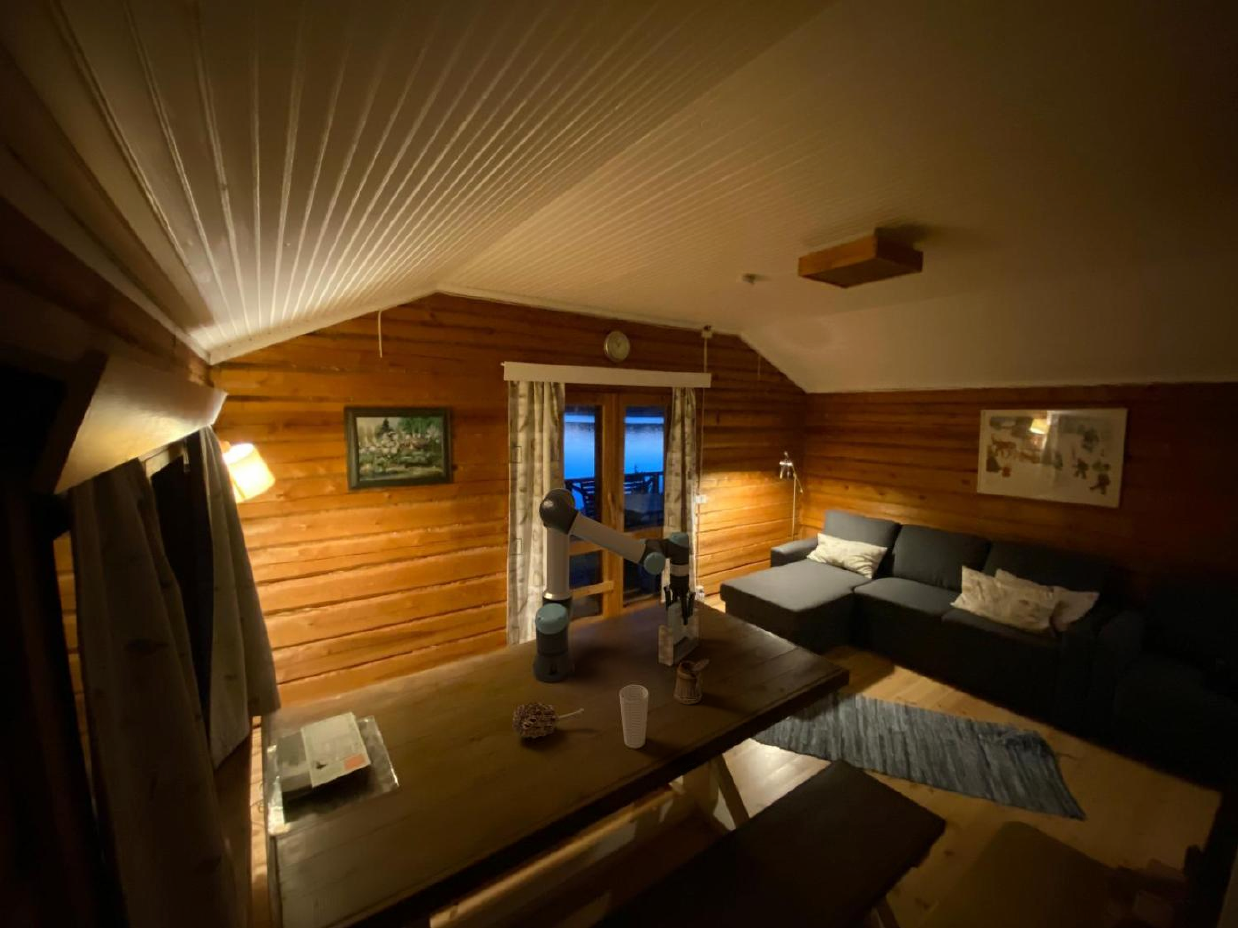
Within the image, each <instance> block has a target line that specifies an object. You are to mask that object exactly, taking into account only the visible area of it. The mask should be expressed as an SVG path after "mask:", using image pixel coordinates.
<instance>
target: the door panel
mask: <svg viewBox="0 0 1238 928" xmlns="http://www.w3.org/2000/svg"><path fill="white" fill-rule="evenodd" d="M688 599H689V597H687V606H688ZM682 616H683V614H682V606H681V600H680V599H678V601H677V602H675V603H674V604H672V605H671V606H669V607H668V612H667V627H670V628H673V644H676V643H677V642H679V641H680V640H681V639H682V638H683V637H685V636H686V635H687V634H688V633H690V617H688V624H687V625H686V632H684V633H683V634H681V617H682Z"/></svg>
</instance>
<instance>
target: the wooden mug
mask: <svg viewBox="0 0 1238 928" xmlns="http://www.w3.org/2000/svg"><path fill="white" fill-rule="evenodd" d="M709 662H710V658H708V657H705V658H703V659H701V660H700V661H698V662H696V663H695V662H693V661H691V660H683V661H680V662H679V663H678V667H677V671H676V673H677V676H676V684H675V689H674V693H673V697H674V700H675V701H677V702H678V703H680V704H683V705H695V704H698V703H699V702H700V701H701V699H702V694H703V693H702V691H701V687H702V684H703V676H702V672H701V671H702V670H703V668H705V667H706V666H707V665H708V664H709Z"/></svg>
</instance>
